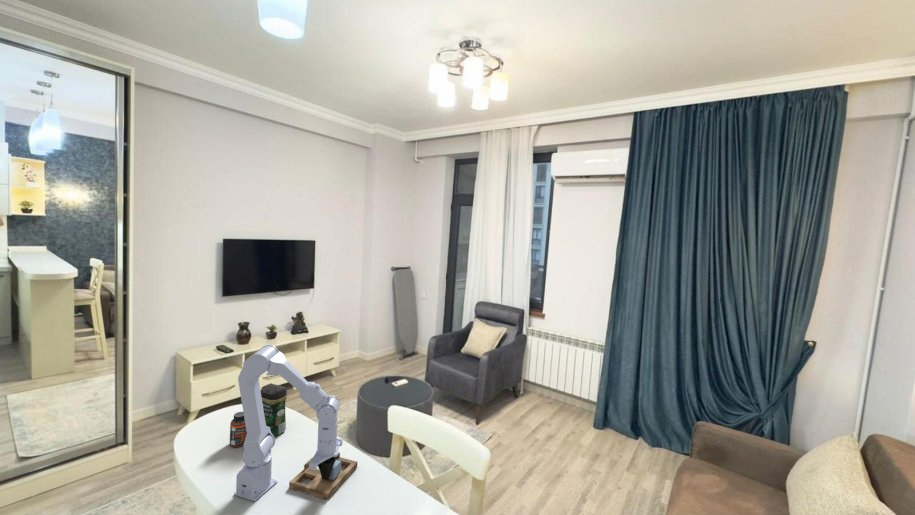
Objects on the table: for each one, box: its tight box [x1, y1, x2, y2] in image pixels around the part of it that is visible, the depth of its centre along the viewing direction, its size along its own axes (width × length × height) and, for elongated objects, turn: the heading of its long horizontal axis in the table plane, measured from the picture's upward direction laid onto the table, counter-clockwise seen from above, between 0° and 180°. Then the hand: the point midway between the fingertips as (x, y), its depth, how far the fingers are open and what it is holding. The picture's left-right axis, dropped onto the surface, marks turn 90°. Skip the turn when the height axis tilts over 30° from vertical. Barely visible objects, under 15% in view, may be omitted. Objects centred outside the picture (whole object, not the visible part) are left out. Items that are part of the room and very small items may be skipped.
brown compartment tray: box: [288, 452, 359, 501], centre depth 126 cm, size 17×14×4 cm
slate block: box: [329, 460, 342, 480], centre depth 124 cm, size 4×4×4 cm
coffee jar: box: [260, 382, 288, 437], centre depth 150 cm, size 10×8×19 cm
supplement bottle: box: [229, 411, 247, 448], centre depth 141 cm, size 6×6×11 cm
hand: (325, 478), depth 121 cm, fingers closed
